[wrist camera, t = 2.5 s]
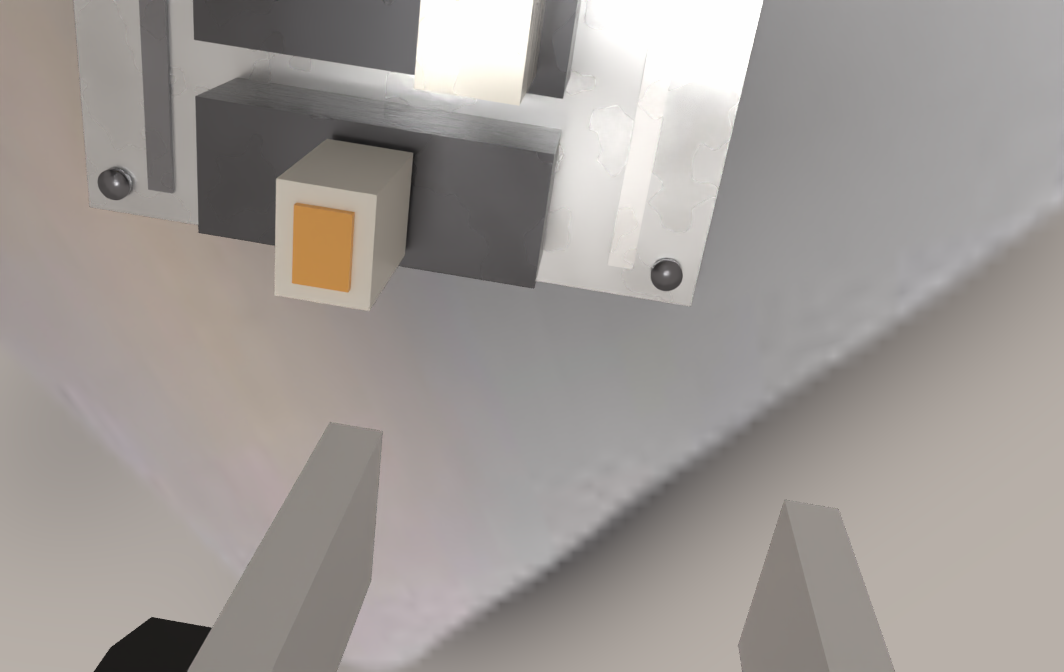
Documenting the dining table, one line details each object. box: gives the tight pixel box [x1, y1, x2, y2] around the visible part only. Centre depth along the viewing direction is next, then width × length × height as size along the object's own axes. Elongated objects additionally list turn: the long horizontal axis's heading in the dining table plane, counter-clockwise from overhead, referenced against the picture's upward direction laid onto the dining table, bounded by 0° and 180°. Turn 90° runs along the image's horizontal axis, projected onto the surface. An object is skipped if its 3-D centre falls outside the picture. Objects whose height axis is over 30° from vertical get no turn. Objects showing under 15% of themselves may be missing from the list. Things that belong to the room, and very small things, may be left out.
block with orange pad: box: [274, 139, 413, 311], centre depth 24 cm, size 2×3×4 cm
